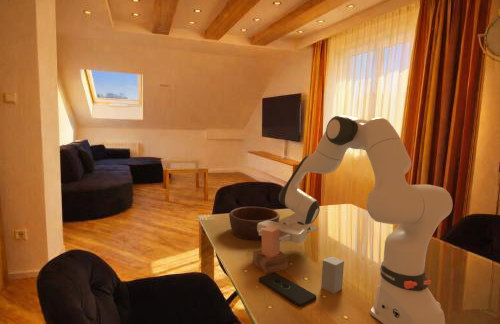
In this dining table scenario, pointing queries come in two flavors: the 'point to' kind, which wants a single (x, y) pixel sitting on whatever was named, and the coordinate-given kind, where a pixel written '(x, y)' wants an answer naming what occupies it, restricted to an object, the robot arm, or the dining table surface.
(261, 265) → the walnut base block
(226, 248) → the dining table surface
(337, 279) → the grey block
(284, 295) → the smart home device
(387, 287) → the robot arm
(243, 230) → the wooden bowl
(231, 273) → the dining table surface
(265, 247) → the terracotta block
